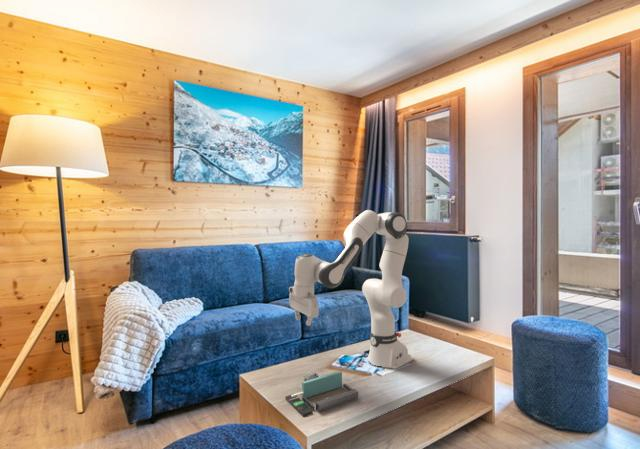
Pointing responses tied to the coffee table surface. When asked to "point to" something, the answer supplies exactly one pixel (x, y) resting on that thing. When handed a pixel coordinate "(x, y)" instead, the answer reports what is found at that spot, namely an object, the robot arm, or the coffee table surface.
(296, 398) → the gauge frame
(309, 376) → the mineral specimen
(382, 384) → the coffee table surface
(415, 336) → the coffee table surface
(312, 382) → the gauge plate
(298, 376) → the coffee table surface
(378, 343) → the robot arm
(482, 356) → the coffee table surface
